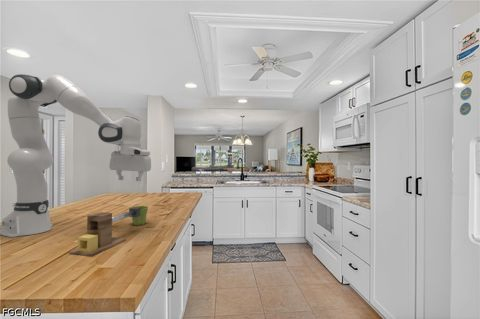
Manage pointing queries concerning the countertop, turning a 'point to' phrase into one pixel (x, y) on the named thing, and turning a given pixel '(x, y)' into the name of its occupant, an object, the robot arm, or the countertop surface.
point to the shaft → (127, 214)
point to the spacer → (87, 243)
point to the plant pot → (142, 217)
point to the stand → (100, 233)
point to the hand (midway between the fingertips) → (129, 180)
